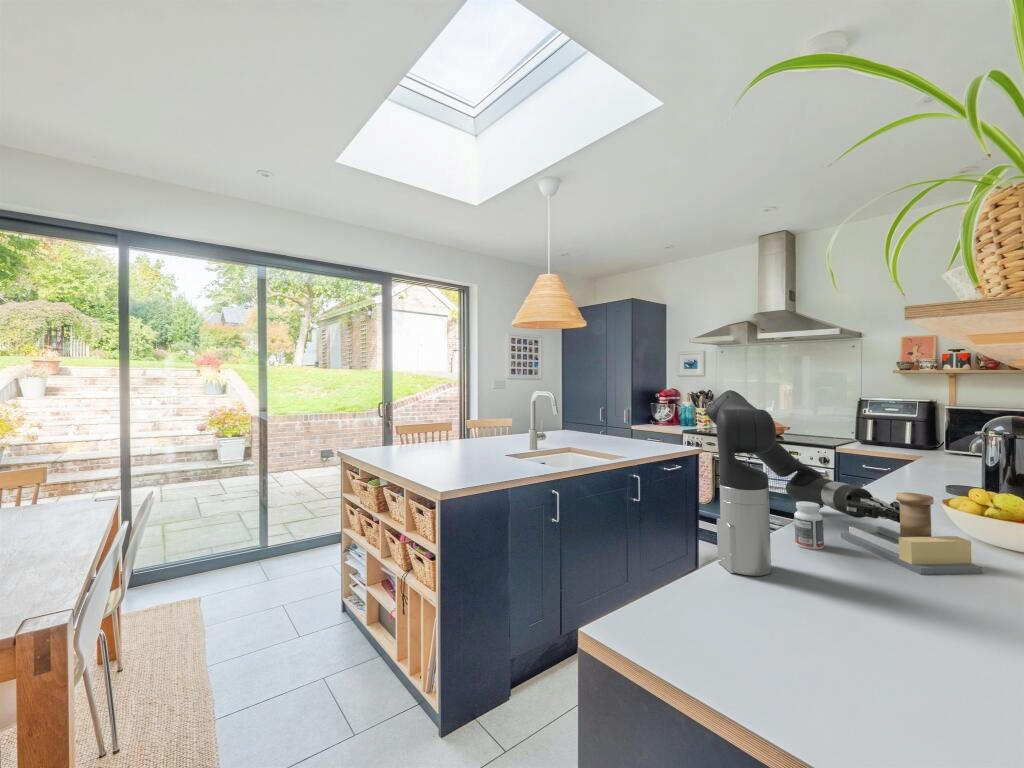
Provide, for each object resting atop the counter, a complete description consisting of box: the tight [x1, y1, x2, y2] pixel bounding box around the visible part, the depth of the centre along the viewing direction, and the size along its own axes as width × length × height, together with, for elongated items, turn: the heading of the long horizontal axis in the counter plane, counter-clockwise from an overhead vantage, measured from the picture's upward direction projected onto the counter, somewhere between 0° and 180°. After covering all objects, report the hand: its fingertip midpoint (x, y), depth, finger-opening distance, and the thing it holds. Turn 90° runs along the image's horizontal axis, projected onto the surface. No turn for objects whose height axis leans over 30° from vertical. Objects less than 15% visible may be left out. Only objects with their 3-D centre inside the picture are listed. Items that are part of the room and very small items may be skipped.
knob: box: [895, 492, 935, 545], centre depth 97 cm, size 6×6×12 cm
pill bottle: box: [793, 501, 825, 550], centre depth 106 cm, size 6×6×10 cm
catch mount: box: [840, 525, 983, 575], centre depth 100 cm, size 12×22×6 cm, turn 179°
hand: (905, 518), depth 99 cm, fingers closed
